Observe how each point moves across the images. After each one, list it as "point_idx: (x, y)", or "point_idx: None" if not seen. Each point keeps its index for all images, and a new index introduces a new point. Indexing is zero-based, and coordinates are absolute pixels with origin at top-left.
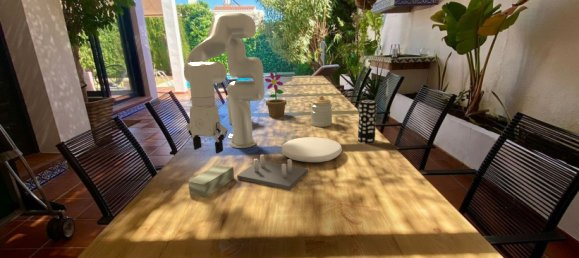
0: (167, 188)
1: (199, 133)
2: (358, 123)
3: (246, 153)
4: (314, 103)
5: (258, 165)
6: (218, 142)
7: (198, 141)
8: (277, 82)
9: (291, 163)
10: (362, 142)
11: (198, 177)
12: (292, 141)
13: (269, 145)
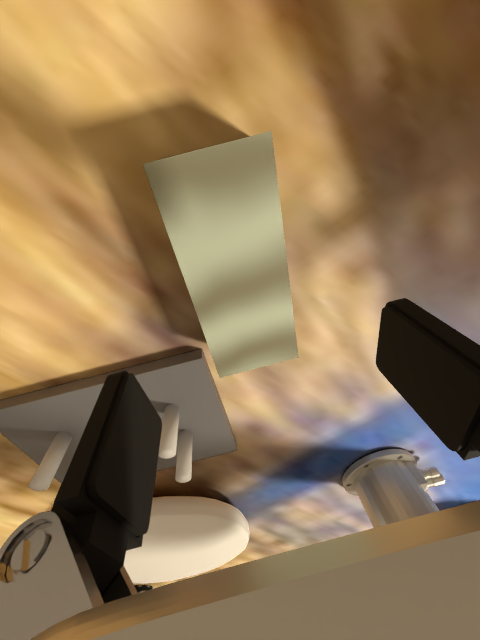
0: (399, 96)
1: (443, 633)
2: None
3: (325, 449)
4: None
5: (208, 432)
6: (67, 509)
7: (428, 393)
8: None
9: None
10: None
11: (258, 209)
12: (224, 546)
13: (304, 497)
